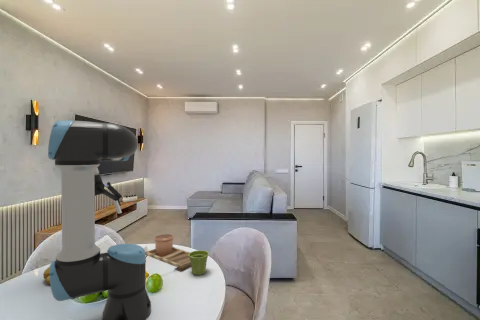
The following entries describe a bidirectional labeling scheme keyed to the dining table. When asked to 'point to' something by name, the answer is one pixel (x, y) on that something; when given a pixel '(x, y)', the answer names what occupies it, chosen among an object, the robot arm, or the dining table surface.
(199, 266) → the plant pot
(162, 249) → the pot
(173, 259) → the pallet
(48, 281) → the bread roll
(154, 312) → the dining table surface
